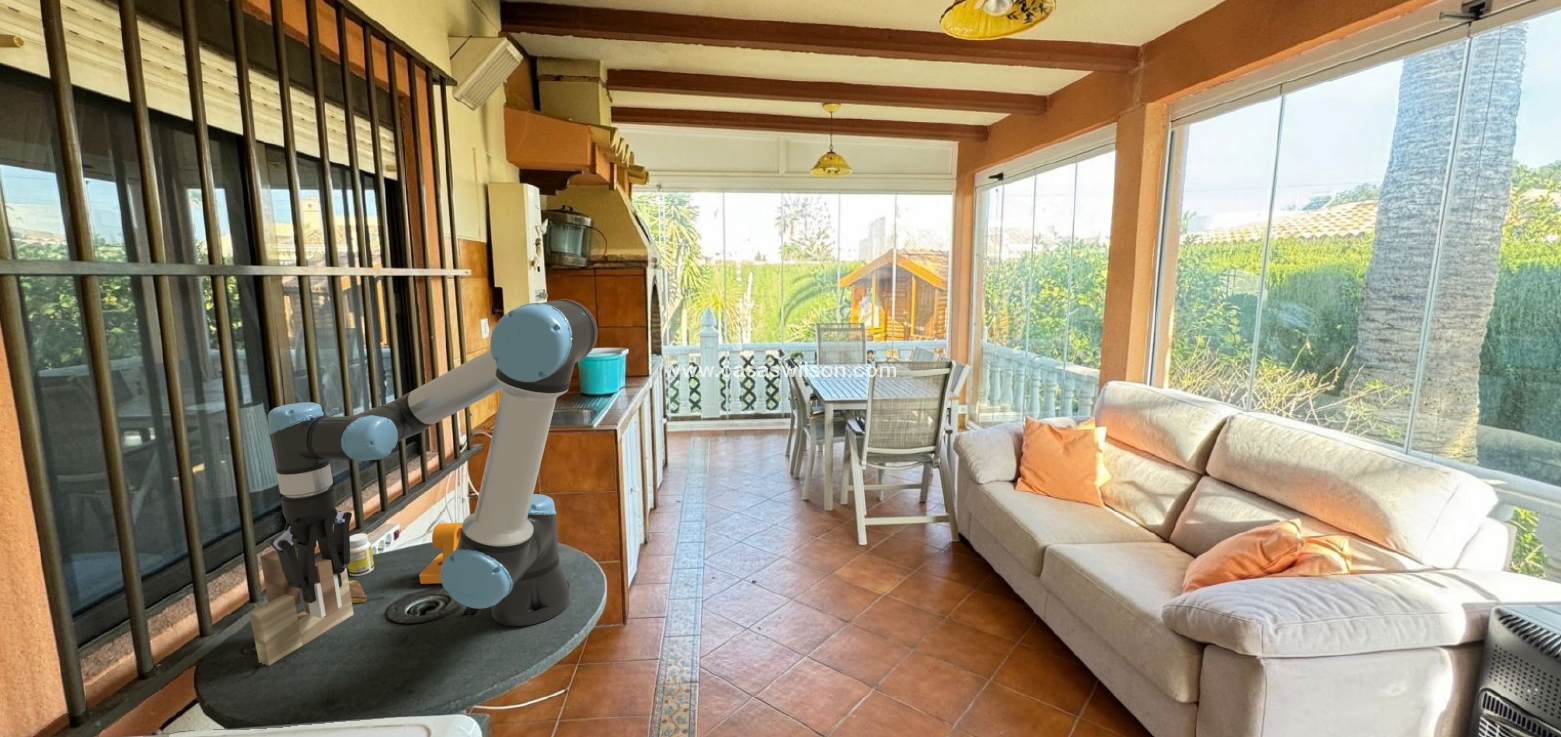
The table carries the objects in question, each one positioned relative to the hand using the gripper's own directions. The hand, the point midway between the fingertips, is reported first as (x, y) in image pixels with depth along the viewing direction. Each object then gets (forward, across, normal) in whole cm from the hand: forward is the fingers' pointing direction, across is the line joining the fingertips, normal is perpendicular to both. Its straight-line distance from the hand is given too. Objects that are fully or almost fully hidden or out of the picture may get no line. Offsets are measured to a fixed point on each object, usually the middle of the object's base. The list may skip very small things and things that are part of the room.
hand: (326, 610), depth 113 cm
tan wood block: (0, 0, -6) cm, 6 cm away
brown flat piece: (+7, -14, -12) cm, 20 cm away
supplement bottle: (+7, -22, -18) cm, 29 cm away
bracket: (+7, -26, +2) cm, 27 cm away
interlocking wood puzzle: (+6, 0, -5) cm, 8 cm away
